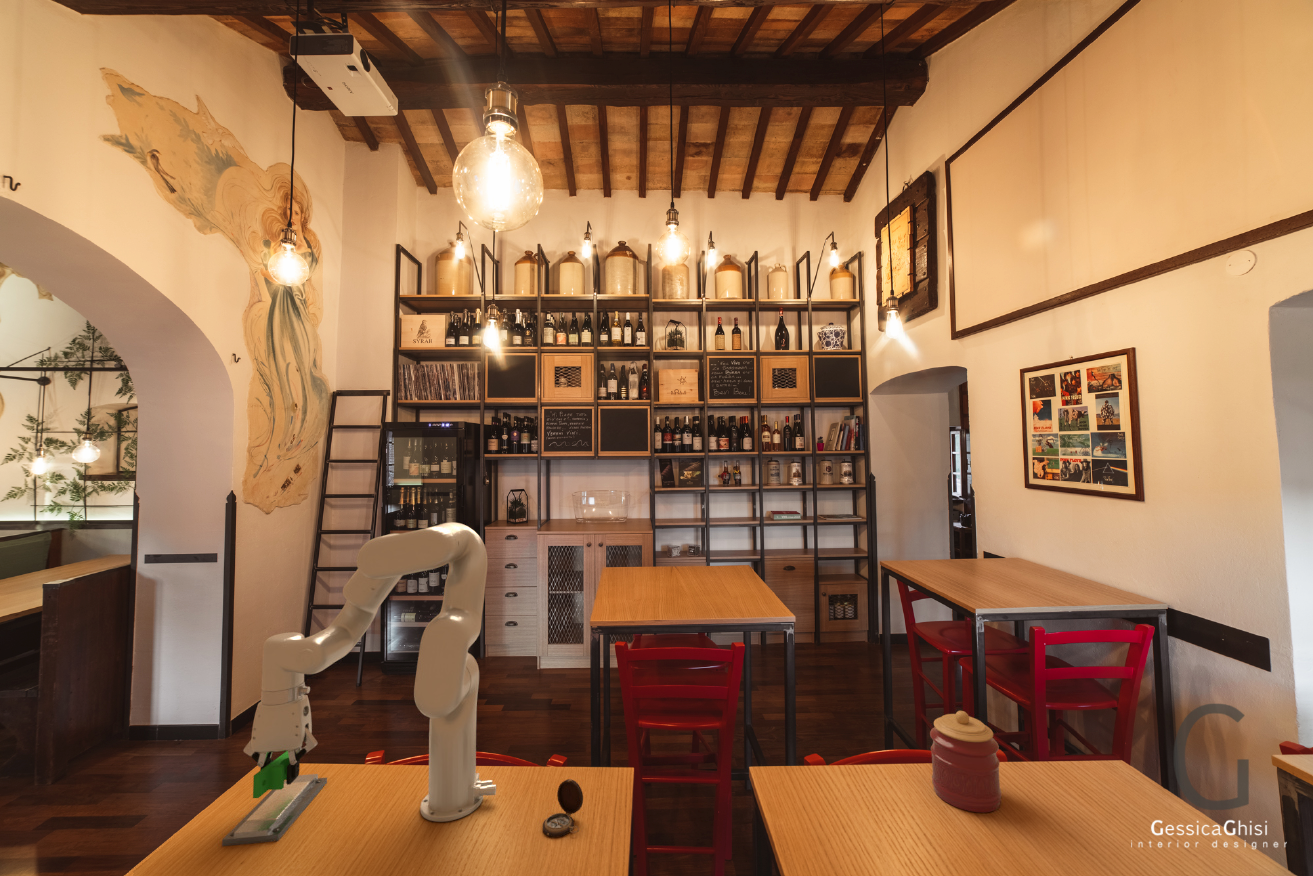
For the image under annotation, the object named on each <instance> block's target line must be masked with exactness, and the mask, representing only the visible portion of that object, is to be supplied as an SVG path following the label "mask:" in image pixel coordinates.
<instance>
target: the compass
mask: <svg viewBox="0 0 1313 876" xmlns="http://www.w3.org/2000/svg"><path fill="white" fill-rule="evenodd" d="M583 794H584V793H583V791H582V787H581V786H580V785H579V783H578V782H577V781H575V780H574V779H572V778H568V779H566V780H563V781H561V783H560V784H559V786H558V788H557V795H556V796H557V801H558V804H559V807H560V808H561V810H563V811H564V813H563V812H558V813H557V812H556V813H553V814H552V815H551V814H550V816H549V817H547V818H546V819H545V820H544V821H543V823H542V832H543V833H544V834H545V835H547V836H548V837H551V838H552V837H553V838H558V837H557V836H559V837H563V836H566V835H567V834H568V832H569V833H573V834H575V833H577V832H579V830H580V828H579V826H578V825H574V824H575V821H574V819H573V817H572V816H571V815H572V814H576V813H577V812H579V811H580V810H581V808H582V806H583V803H584V795H583ZM574 828H577V830H576V831H574ZM562 835H563V836H562Z"/></svg>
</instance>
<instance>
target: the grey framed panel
mask: <svg viewBox="0 0 1313 876" xmlns="http://www.w3.org/2000/svg"><path fill="white" fill-rule="evenodd" d="M327 783H328V777H319V773H313V774H312V773H311V774H299V775H298V777H297V778H296V779H295V780H294V781H293V782H292V783H291V784H290V785H287V784H286V780H285V781H284V788H283V789H281V790H269V793H267V794H266V795H265V796H264V797H263V798H262V799H261V800H260V801H259V802H258V803H257V805H255V806H254V807H253V808H252V809H251V810H250V811H249V812H248V813H247V814H246V815H245V817H243V818H242V819H241V820H240V822H238V823H237V825H235V826H234V828H232V829H231V831H229V832H228V833H227V834H226V835H225V836H224V837H223V838H222V841H221V847H227V846H228V847H230V846H238V845H249V844H250V845H251V844H258V843H271V842H279V841H280V840H281V838H282V837H283V836H284V835H285V834H286V833H287V831H288V830H289V829H290V827H291V826H292V825H293V824H294V823H295V821H297V819H298V818H299V817H300V815H301V814H303V812H304V811H305V810H306V809H307V808H308V806H309V805H310V804H311V803H312V801H313V800H314V799H315V798H316V797H317V795H318V794H319V793H320V792H321V791H322V789H323V788H324V787H325V786H326V785H327ZM325 784H326V785H325ZM323 786H324V787H323ZM320 790H321V791H320ZM314 797H315V798H314ZM288 828H289V829H288Z"/></svg>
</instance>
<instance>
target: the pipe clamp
mask: <svg viewBox="0 0 1313 876" xmlns="http://www.w3.org/2000/svg"><path fill="white" fill-rule="evenodd" d="M289 764H290V760H289V755H288V751H285V752H283V753H282V754H281V755H280V756H278V757H277V758H276V759H273V762H271V763H270V764H269V765H267V766H266V767H265V768H263V769H262V770H260V769H259V771H258V772H256V773H255V774H254V775H253V780H252V781H253V788H252V798H253V799H259V798H260V797H262V796H263V795H265V794H266V793H267V792H268V791H271V790H281V789H283V788H284V781H286V779H287V766H288V765H289Z"/></svg>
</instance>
